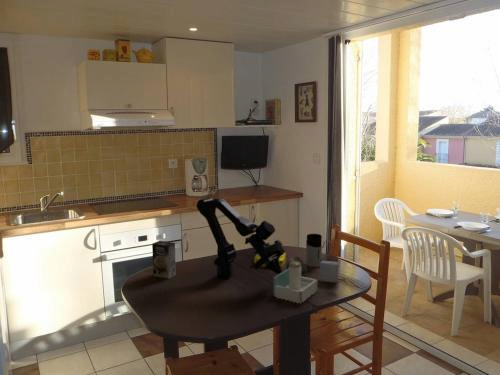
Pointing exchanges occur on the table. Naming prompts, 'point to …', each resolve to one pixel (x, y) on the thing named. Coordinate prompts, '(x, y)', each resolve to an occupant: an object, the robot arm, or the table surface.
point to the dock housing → (295, 294)
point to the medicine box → (329, 271)
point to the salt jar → (295, 275)
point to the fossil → (303, 266)
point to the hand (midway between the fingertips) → (281, 274)
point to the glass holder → (314, 250)
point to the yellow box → (281, 260)
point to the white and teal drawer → (285, 281)
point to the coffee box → (164, 259)
